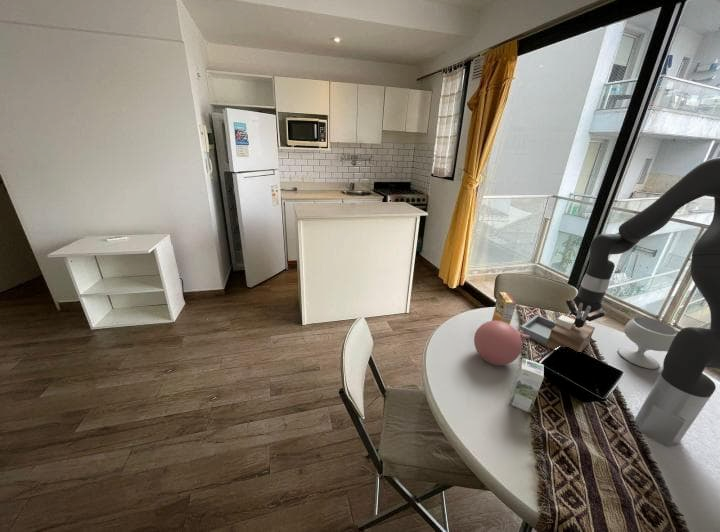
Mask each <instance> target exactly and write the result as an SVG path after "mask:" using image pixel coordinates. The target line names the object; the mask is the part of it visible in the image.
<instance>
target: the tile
mask: <svg viewBox="0 0 720 532" xmlns="http://www.w3.org/2000/svg"><path fill="white" fill-rule="evenodd" d="M555 322H556V324H557V325H560V326H562V327H564V328H567V329H569V330H570V329H571V328H573V327H574V326H575V325H574V322H575V320H574V318H572V317H570V318H569V316H566V315H565V314H562V315H560V316H559V317H557V320H556V321H555Z"/></svg>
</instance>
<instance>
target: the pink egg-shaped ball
mask: <svg viewBox="0 0 720 532" xmlns="http://www.w3.org/2000/svg"><path fill="white" fill-rule="evenodd" d="M527 339H528V340H529V339H530V336H529V335H525V334H524V333H523V331H522V330H520V329H518V330H516V328H515V327H513V326H512V325H511V324H510V325H509V324H507V323H505V322H502V321H492V320H490V321H487V322H484V323H482V324H481V325H480V326H479V327H478V328H477V330H476V332H475V333H474V338H473V343H474V347H475V350H476V352H477V354H478V355H479V356H480V357H481V358H482V359H483V360H484V361H486V362H487V363H489V364H492V365H495V366H505V365H510V364H511V363H513V362H515V360H517V359H518V357H519V356H520V354H521V351H522V347H523V343H524V342H525V340H527Z"/></svg>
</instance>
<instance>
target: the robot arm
mask: <svg viewBox="0 0 720 532" xmlns="http://www.w3.org/2000/svg"><path fill="white" fill-rule="evenodd" d="M703 197H711V198H713V199H714V200H713V201H714V209H713V215H712V219H711V222H710V224H709V226H708V227H707V228H706V230H705V231H704V232H703V233H702V235H701V236H700V237H699V239H698V240H697V241H696V243H695V245H694V246H693V250H692V253H691V260H690V261H691V263H690V276H691V280H692V281H693V284H695V286H696V288H697V290H698V291H699V293H700V294H701V295H702V297H703V298H704V300H705V301H706V303H707V306H708V307H709V312H710V328H704V327H694V326H688V327H684V328H682V329H680V330H679V331H678V332H677V334H676V336H675V337H674V339H673V341H672V343H671V345H670V348H669V350H668V351H666V354H665V356H664V359H663V363H662V364H663V365H662V371H661V373H660V374H659V376H658V377H657V379H656V381H655V382H654V384H653V386H652V388H651V390H650V392H649V393H648V395H647V396H646V399H645V400H644V401H643V404H642V405H641V407H640V410H639V411H638V412H637V415H636V416H635V418H634V422H635V424H636V426H637V427H638V431H639V432H640V433H642V434H644V435H645V436H647V437H649V438H651V439H653V440H654V441H656V442H658V443H659V444H662V446H663V445H664V446H665V447H667V448H670V447H671V446H677V445H679V444H680V442H681V441H682V439H683V438H684V436H685V435H686V434H687V432H688V430H689V429H690V428H691V426H692V425H693V423H694V422H695V420H696V419H697V417H698V416H699V414H700V413H701V412H702V410H703V408H704V407H705V405H706V404H707V403H708V401H709V400H710V398H711V396H712V395H713V394H714V393H715V390H716V384H715V382H714V381H713V380H712V379H711V378H710V377H709V376H707V375H706V374H704V373H703V372H704V370H705V369H706V368H712V369H719V370H720V156H717V157H712V158H710V159H707V160H705V161H703V162H702V163H700V164H698V165H697V166H695V167H693V169H691V170H690V171H688V172H687V174H685V175H684V176H683V177H682V178H680V179H679V180H678V182H676V183H675V184H674V185H672V187H670V188H669V189H668V190H667V191H665V192H664V193H663V194H662V195H660V197H658V199H656V200H655V201H654V202H653V203H651V204H650V205H648V206H647V207H646V208H644V209H643V210H641V211H640V212H638V213H636V214H635V215H633V216H631V217H630V218H629V219H627V220H626V221H624V222H622V223H621V225H619V227H618V232H617V233H600V234H598V235H596V236H595V237H594V238H593V239H592V241H591V243H590V246H589V264H588V266H587V268H586V271H585V274H584V276H583V278H582V280H581V283H580V286H579V288H578V291H577V293H576V296H575V297H573V298H568V299H567V300H566V301H565V302H566V306H567V307H568V310H569V311H570V314H571V315H572V316H574V317H575V322H574V325H575V327H578V328H580V327H581V328H582V327H583V326H584V324H586V321H588V322H592V321H595V320H597V319H600V318H603V317H605V316H606V315H607V311H606V310H604V309H603V306H602V302H603V300H604V298H605V295H606V292H607V291H608V288H609V285H610V281H611V278H612V275H613V273H614V270H615V267H616V265H615V263H614V262H613V261H612V260H609V256H610V255H620V254H623V253H627V252H628V251H629V250H631V249H632V248H634V247H635V246H636V245H637V244H638V243H639V242H640V241H641V240H644V239H645V238H646V237H649V236H650V235H652V234H654V233H656V232H658V231H659V230H661V229H662V228H663V227H665V226H666V225H667V224H668V223H669V222H670V220H671V219H672V217H673V216H674V215H675V214H676V212H677V211H678V210H679V209H681V208H682V207H684V206H685V205H687V204H689V203H692V201H693V202H694V201H696V200H697V199H700V198H703ZM594 312H596V313H595V314H593V313H594ZM590 314H593V315H591V316H590Z"/></svg>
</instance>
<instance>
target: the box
mask: <svg viewBox="0 0 720 532" xmlns="http://www.w3.org/2000/svg"><path fill="white" fill-rule="evenodd" d="M556 322H557V321H554V320H552V319H549V318H547V317H545V316H542V315H540V314H535V316H533V317H531V318H530V319H529V320H528V321H526V322H525V323H524V324H522V325H521V326H520V329H519V330H522V331H523V333H524V334H525V335H529V336H530V338H529V339H530V340H533V341H534V342H537V343H539V344H541V345H543V346H545V347H547V346H546V344H547V341H548V339H549V336H550V333H551V330H552V329H553V328H554V327H555V326H556V325H557V324H556Z"/></svg>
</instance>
